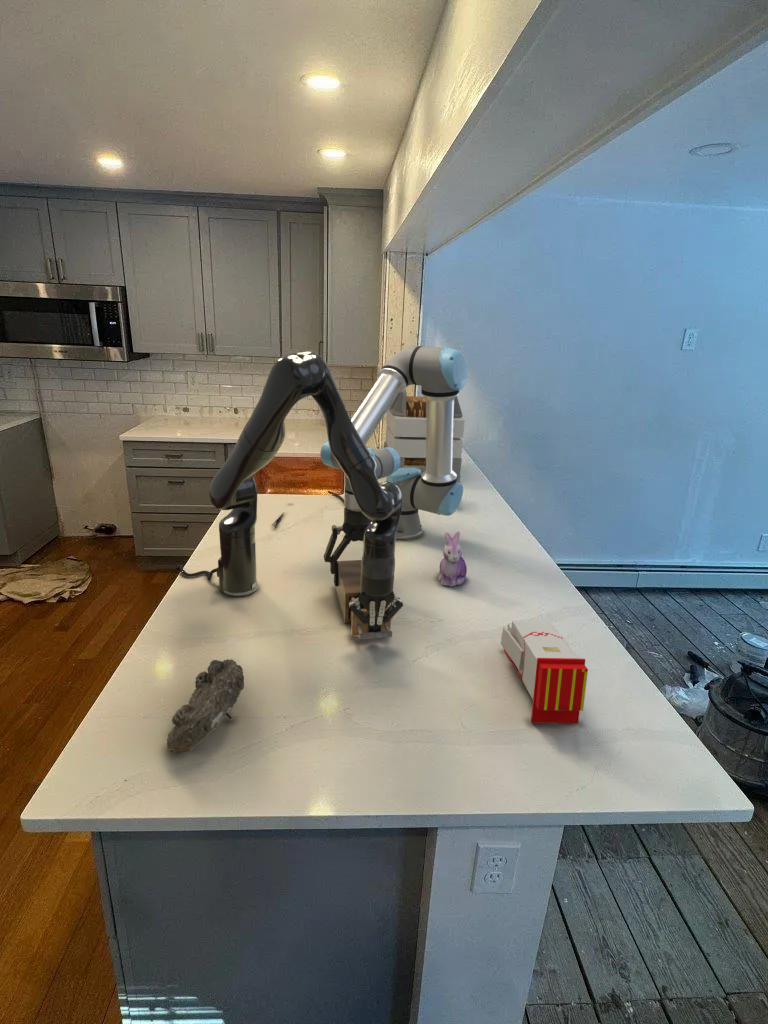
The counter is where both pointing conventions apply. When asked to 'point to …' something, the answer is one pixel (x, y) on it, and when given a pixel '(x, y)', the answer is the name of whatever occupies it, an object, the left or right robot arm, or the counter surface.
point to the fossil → (206, 705)
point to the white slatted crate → (418, 431)
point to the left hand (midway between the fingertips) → (373, 636)
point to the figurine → (452, 562)
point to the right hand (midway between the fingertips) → (356, 582)
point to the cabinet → (348, 584)
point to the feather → (278, 520)
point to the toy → (547, 670)
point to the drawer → (362, 629)
